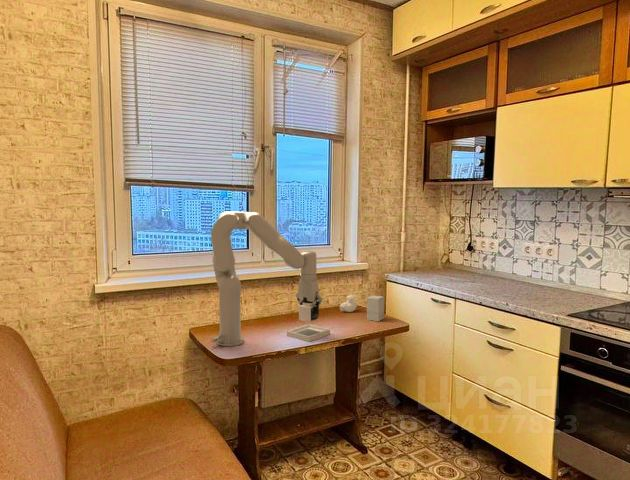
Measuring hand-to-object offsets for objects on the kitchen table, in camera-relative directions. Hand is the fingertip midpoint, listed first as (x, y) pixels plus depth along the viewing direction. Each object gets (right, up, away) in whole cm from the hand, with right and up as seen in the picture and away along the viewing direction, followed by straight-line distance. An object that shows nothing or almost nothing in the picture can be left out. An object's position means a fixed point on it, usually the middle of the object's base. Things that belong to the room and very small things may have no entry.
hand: (308, 312), depth 210 cm
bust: (+23, -7, +46) cm, 52 cm away
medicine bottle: (0, -4, 0) cm, 4 cm away
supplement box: (+36, -9, +29) cm, 47 cm away
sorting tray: (0, -11, +1) cm, 11 cm away
